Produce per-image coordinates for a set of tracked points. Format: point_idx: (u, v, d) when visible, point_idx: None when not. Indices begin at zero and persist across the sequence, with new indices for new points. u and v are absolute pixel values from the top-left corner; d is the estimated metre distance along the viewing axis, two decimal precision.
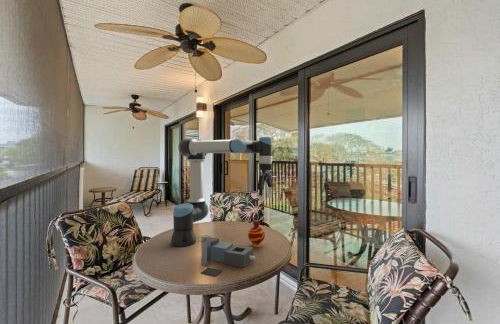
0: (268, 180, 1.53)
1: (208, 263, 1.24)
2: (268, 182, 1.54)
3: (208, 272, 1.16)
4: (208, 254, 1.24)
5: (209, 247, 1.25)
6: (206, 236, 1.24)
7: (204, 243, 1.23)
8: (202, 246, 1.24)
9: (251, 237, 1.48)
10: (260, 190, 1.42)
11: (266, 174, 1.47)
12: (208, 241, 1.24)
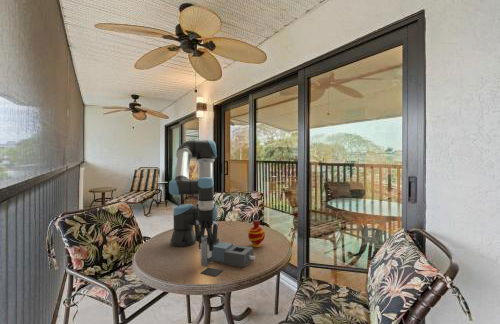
0: None
1: (208, 263, 1.24)
2: None
3: (208, 272, 1.16)
4: None
5: None
6: (206, 236, 1.24)
7: (204, 243, 1.23)
8: (202, 246, 1.24)
9: (251, 237, 1.48)
10: None
11: None
12: None
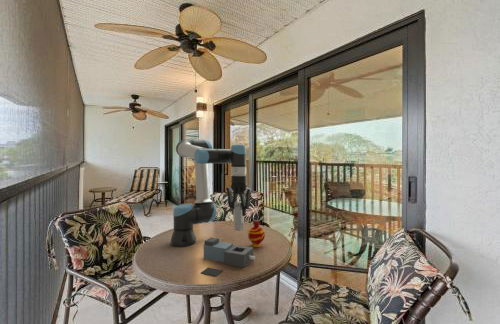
0: None
1: (241, 227, 1.27)
2: None
3: (208, 272, 1.16)
4: None
5: None
6: (239, 202, 1.28)
7: (237, 208, 1.27)
8: (235, 211, 1.27)
9: (251, 237, 1.48)
10: None
11: (234, 189, 1.28)
12: (241, 206, 1.27)
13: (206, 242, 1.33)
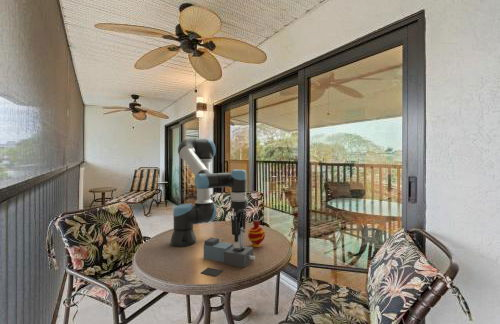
0: (240, 221, 1.30)
1: None
2: (240, 224, 1.30)
3: (208, 272, 1.16)
4: None
5: None
6: None
7: (241, 233, 1.28)
8: (241, 237, 1.27)
9: (251, 237, 1.48)
10: (235, 236, 1.25)
11: (239, 214, 1.26)
12: None
13: (206, 242, 1.33)
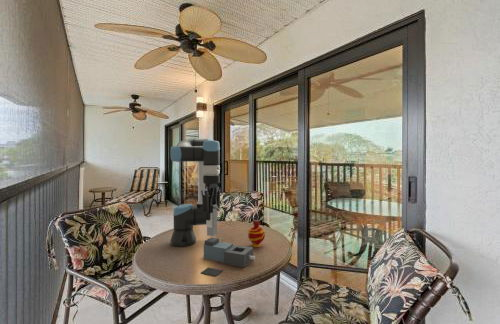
0: (214, 198, 1.17)
1: None
2: (213, 202, 1.18)
3: (208, 272, 1.16)
4: None
5: None
6: (212, 204, 1.16)
7: (215, 211, 1.16)
8: (213, 215, 1.15)
9: (251, 237, 1.48)
10: (207, 214, 1.13)
11: (211, 190, 1.14)
12: None
13: (206, 242, 1.33)
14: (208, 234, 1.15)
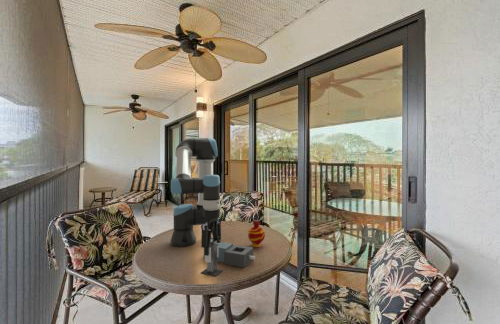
0: (214, 231, 1.18)
1: None
2: (214, 235, 1.19)
3: (208, 272, 1.16)
4: None
5: None
6: (212, 240, 1.17)
7: (215, 247, 1.16)
8: (213, 252, 1.15)
9: (251, 237, 1.48)
10: (205, 249, 1.12)
11: (211, 224, 1.14)
12: None
13: None
14: (208, 271, 1.15)
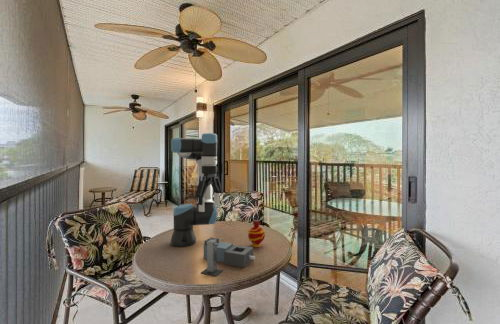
0: (214, 185, 1.28)
1: None
2: (214, 187, 1.29)
3: None
4: None
5: None
6: (212, 240, 1.17)
7: (215, 247, 1.16)
8: (213, 252, 1.15)
9: (251, 237, 1.48)
10: (199, 198, 1.17)
11: (209, 179, 1.22)
12: None
13: None
14: (208, 271, 1.15)
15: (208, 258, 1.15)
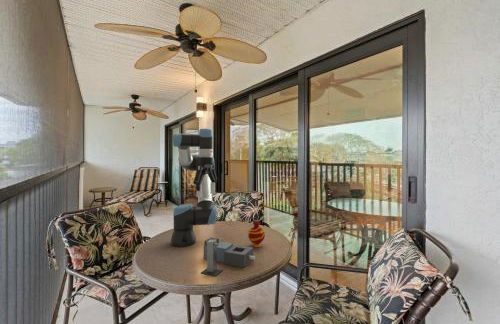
0: (210, 175, 1.44)
1: None
2: (211, 177, 1.45)
3: None
4: None
5: None
6: (212, 240, 1.17)
7: (215, 247, 1.16)
8: (213, 252, 1.15)
9: (251, 237, 1.48)
10: (197, 185, 1.33)
11: (206, 168, 1.38)
12: None
13: None
14: (208, 271, 1.15)
15: (208, 258, 1.15)
